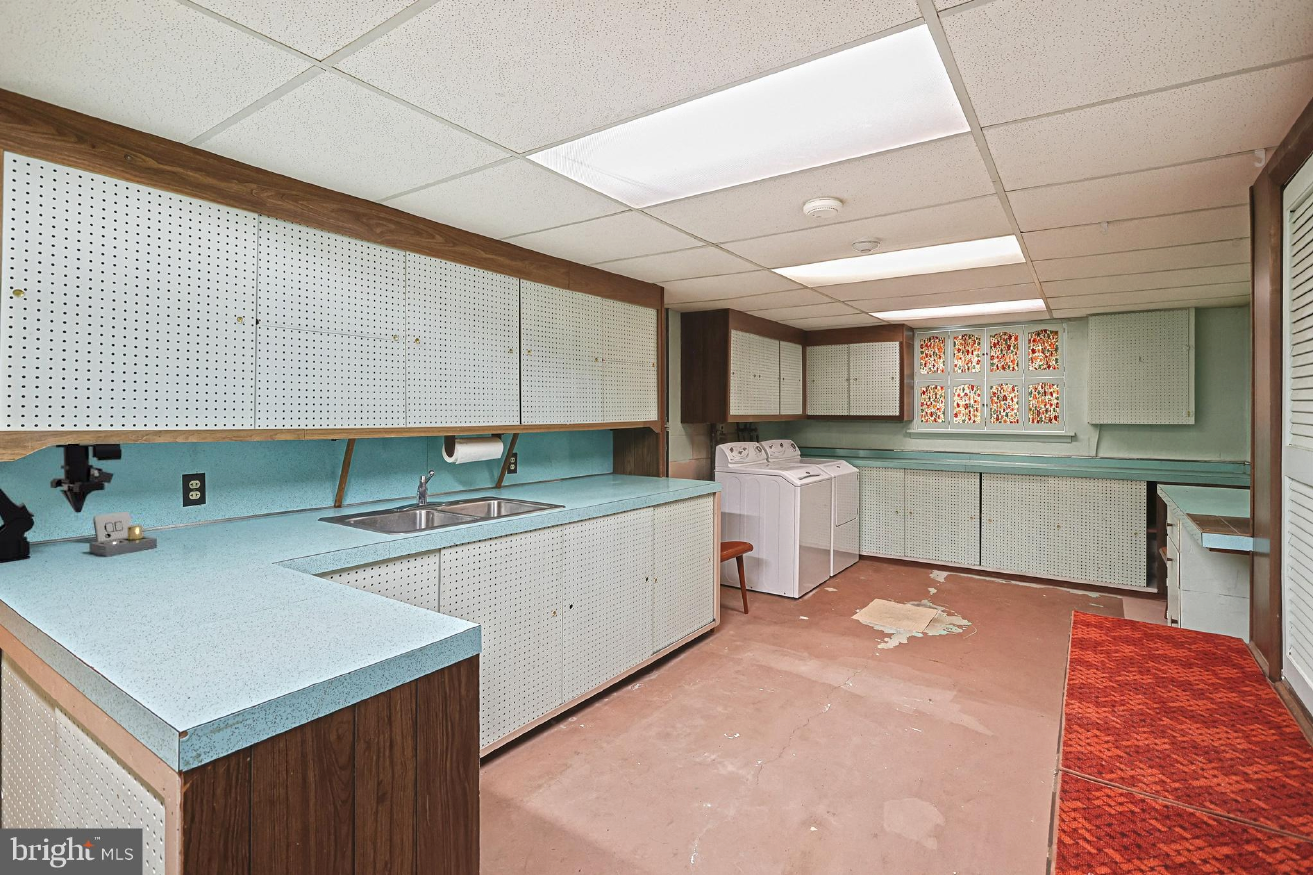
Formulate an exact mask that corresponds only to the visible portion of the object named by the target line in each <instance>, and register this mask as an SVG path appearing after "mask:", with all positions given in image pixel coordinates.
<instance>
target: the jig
mask: <svg viewBox="0 0 1313 875" xmlns="http://www.w3.org/2000/svg"><path fill="white" fill-rule="evenodd" d="M142 538H143V539H141V540H135V541H128V537H125V538H118V539H112V540H120V543H116V544H110V545H104V542H105V541H109V540H105V541H99V542H97V541H93V542H89V543H88V546H89V554H93V555H98V556H102V557H106V558H107V557H113V556H119V555H124V554H130V553H137V552H142V551H147V550H148V551H149V550H154V549H157V548H158V539H157V538H155V537H152V536H151V537H149V536H147V535H146V536H145V535H142Z"/></svg>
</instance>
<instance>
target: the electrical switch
mask: <svg viewBox="0 0 1313 875" xmlns="http://www.w3.org/2000/svg"><path fill="white" fill-rule="evenodd" d="M130 515H131V514H130V512H129V511H122V512H121V511H120V512H113V513H104V514H103V513H102V514H95V515H94V516H93V520H92V521H93V526H94V527H93V528H94V535H95V542H99V541H105V540H112V539H118V538H125V537H127V527H129V526H132V521H131V516H130Z"/></svg>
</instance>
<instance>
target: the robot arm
mask: <svg viewBox="0 0 1313 875" xmlns="http://www.w3.org/2000/svg"><path fill="white" fill-rule="evenodd" d="M54 447H55V448H56V449H57V448H63V465H62V464H61V465H60V469H62V470H63V477H55V478H52V480H51V481H50V483H49V484H50V486H49V487H50V489H51V488H52V489H58V488H63V489H60V490H59V492H60V493H61V494H62V495H63V497H64V498H65V500H66V501H67V502H68V503H69V505H70V507H71V508H72V509H73V511H74V512H75V513H77V514H78V513H81V512H82V511H83V507H84V505H85V503H86V499H87V497H88V495H90V494H91V493H92V492H96V491H97V492H98V491H104V490H105V488H106V487H105V483H107V484H111V482H112V480H113V477H114V475H115V474H114V473H112V472H107V471H103V468H100V467H99V468H98V467H94V465H93V464H90V454H91V459H94V458H95V459H96V461H97V462H101V461H102V462H103V461H121V460H122V452H123V451H122V449H121V443H120V444H93V443H89V444H80V443H79V444H68V445H56V446H54ZM90 451H91V452H90ZM34 517H35V515H34V513H33V512H32V511H30V510H29V509H28V508H27V506H26V504H25V503H24V502H21V503H20V504H17V503H16V502H14V501H13V500H12V499H11V498H10V497H9V496H8V495H7V494H6V493H5V491H4V490H3V489H2V488H1V487H0V519H1V520H2V522H3V524H1V525H0V563H6V562H12V561H17V560H25V559H31V555H30V554H31V546H30V545H31V543H30V541H29V540H28V537H27V535H26V533H28V532H29V531H31V530H32V529H33V528H34V525H35V520H34V519H33V518H34Z"/></svg>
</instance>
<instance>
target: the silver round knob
mask: <svg viewBox="0 0 1313 875" xmlns="http://www.w3.org/2000/svg"><path fill="white" fill-rule="evenodd" d="M116 543H120V540H109V541H105V542H104V545H110V544H116Z"/></svg>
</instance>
